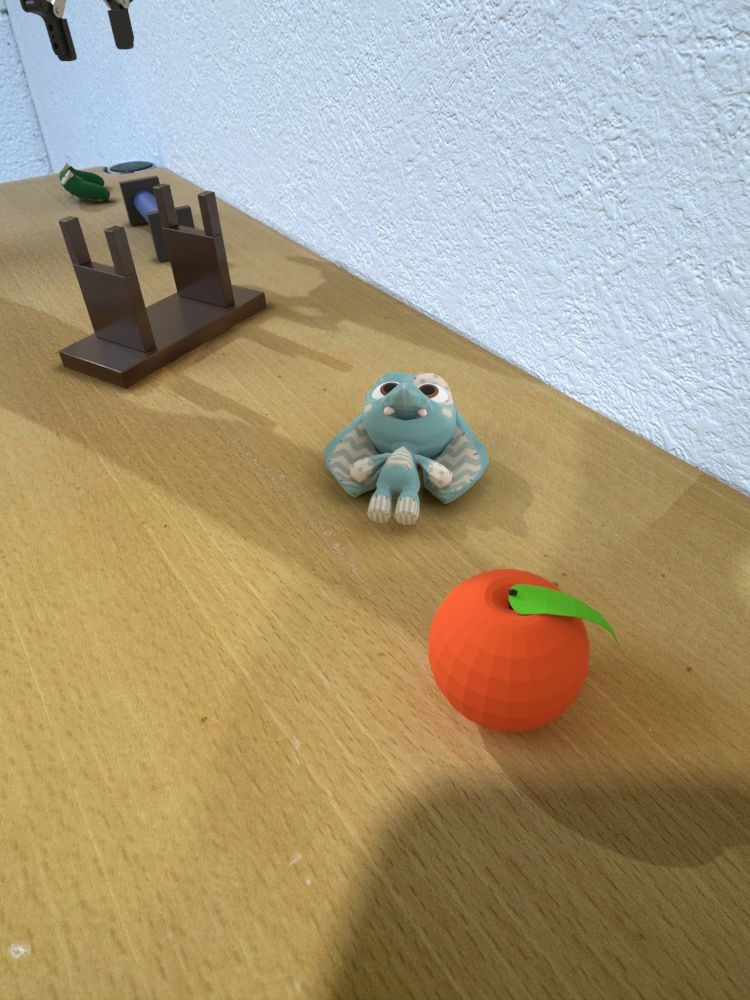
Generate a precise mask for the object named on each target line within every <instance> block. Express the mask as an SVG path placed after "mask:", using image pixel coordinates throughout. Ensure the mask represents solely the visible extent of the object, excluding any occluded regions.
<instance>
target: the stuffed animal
mask: <svg viewBox="0 0 750 1000" xmlns="http://www.w3.org/2000/svg"><path fill="white" fill-rule="evenodd" d="M323 454H324V460H325V464H326V468H327V470H328V471H329V472H330V473H331V475H332V477H334V479H335V480H336V482H337V483H338V485H340V487H341V488H342V489H343V490H344V492H346V494H347V495H350V496H351V497H353V498H357V497H359V496H360V495H362V494H364V493H367V492H369V491H372V490H374V489H375V492H373V494H372V495H371V497H370V499H369V503H368V508H367V511H366V512H367V513H366V515H367V517H368V519H369V520H370V521H372V522H375V523H378V524H386V523H389V521H390V519H391V517H392V512H393V499H394V500H397V502H396V506H395V509H394V514H393V518H394V520H395V521H396V523H397V524H400V525H403V526H411V525H415V524H416V523H417V521H418V518H419V514H420V508H421V502H420V498H419V494H418V493H419V492H420V490H421V480H420V474H419V471H418V468H419V467H420V468H421V470H422V476H423V487H424V489H426V490H427V491H429V492H430V493H431V494H432V495H433V496H434V497H435V498H437V499H438V500H439V501H440V502H441V503H442V504H443V505H446V504H449V503H451V502H454V501H456V500H457V499H458V498H459V497H461V496H462V495H464V493H466V492H467V491H468V490H470V489H472V487H473V486H474V485H475V484H476V483H477V482H478V481H479V479H481V477H482V475H483V473H484V472H485V470H486V468H487V466H488V465H489V463H490V458H489V454H488V452H487V449H486V447H485V445H484V444H483V443H482V442H481V440H480V439H479V438H478V437H477V435H476V434H475V433H474V431H473V430H472V429H471V427H470V425H469V424H468V423H467V421H466V420H465V418H463V416H462V414H461V413H460V412H459V409H458V407H457V404H456V402H455V399H454V398H453V395H452V391H451V389H450V386H449V384H448V382H447V381H446V380H445V379H444V378H443V377H442V376H440V375H438V374H436V373H432V372H423V373H407V372H402V371H390V372H387V373H384V374H383V375H382V376H381V377H379V379H377V381H376V382H375V383H374V385H373V386H372V387H371V388H370V390H369V391H368V393H367V394H366V396H365V401H364V404H363V407H362V410H361V412H360V413H359V415H357V416H356V417H355V418H354V419H353V420H352V421H351V422H350V423H349V424H348V425H347V426H345V428H343V429H342V430H341V431H339V432H338V433H337V434H336V435H335V436H334V437H332V438H331V440H330V441H329V442H328V444H327V445H326V447H325V448H324V449H323Z"/></svg>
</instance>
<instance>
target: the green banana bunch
mask: <svg viewBox="0 0 750 1000" xmlns="http://www.w3.org/2000/svg"><path fill="white" fill-rule="evenodd" d="M58 177H59V181H60V185H61V186H62V188H64V190H65V191H66V192H68V193H69V194H70V195H72V196H74V198H75V199H76V200H78V201H79V202H81V201H83V200H89V201H94V202H109V200H110V197H111V193H110V191H109V189H107V188H106V187H104V186H105V180H104V178H102V177H101V176H100V175H99V174H97V173H95V172H90V171H84V170H78V169H76V168H74V166H72V165H70V163H68V161H65V163H64V164H63V165H62V166H61V167H60V169H59V171H58Z"/></svg>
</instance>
